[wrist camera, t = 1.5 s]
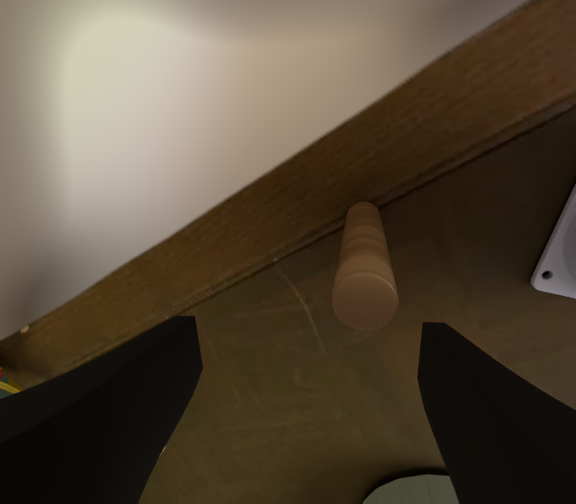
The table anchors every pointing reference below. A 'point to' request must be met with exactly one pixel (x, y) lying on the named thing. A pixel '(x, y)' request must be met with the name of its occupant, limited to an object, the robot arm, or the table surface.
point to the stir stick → (364, 272)
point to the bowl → (415, 491)
